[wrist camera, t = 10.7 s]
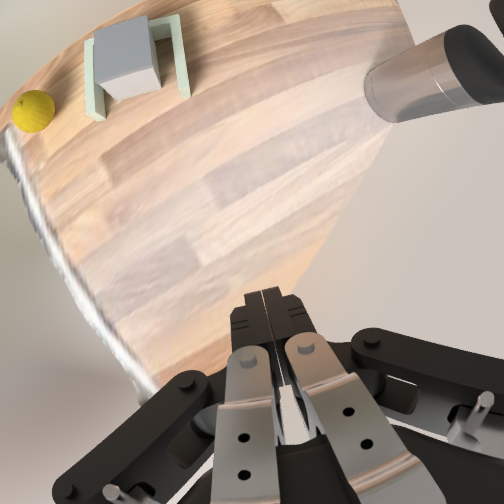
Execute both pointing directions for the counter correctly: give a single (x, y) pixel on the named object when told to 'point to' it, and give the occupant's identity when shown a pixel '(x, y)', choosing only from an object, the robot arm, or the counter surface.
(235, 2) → the counter surface
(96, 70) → the lidded grey box
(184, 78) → the bay
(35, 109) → the lemon
